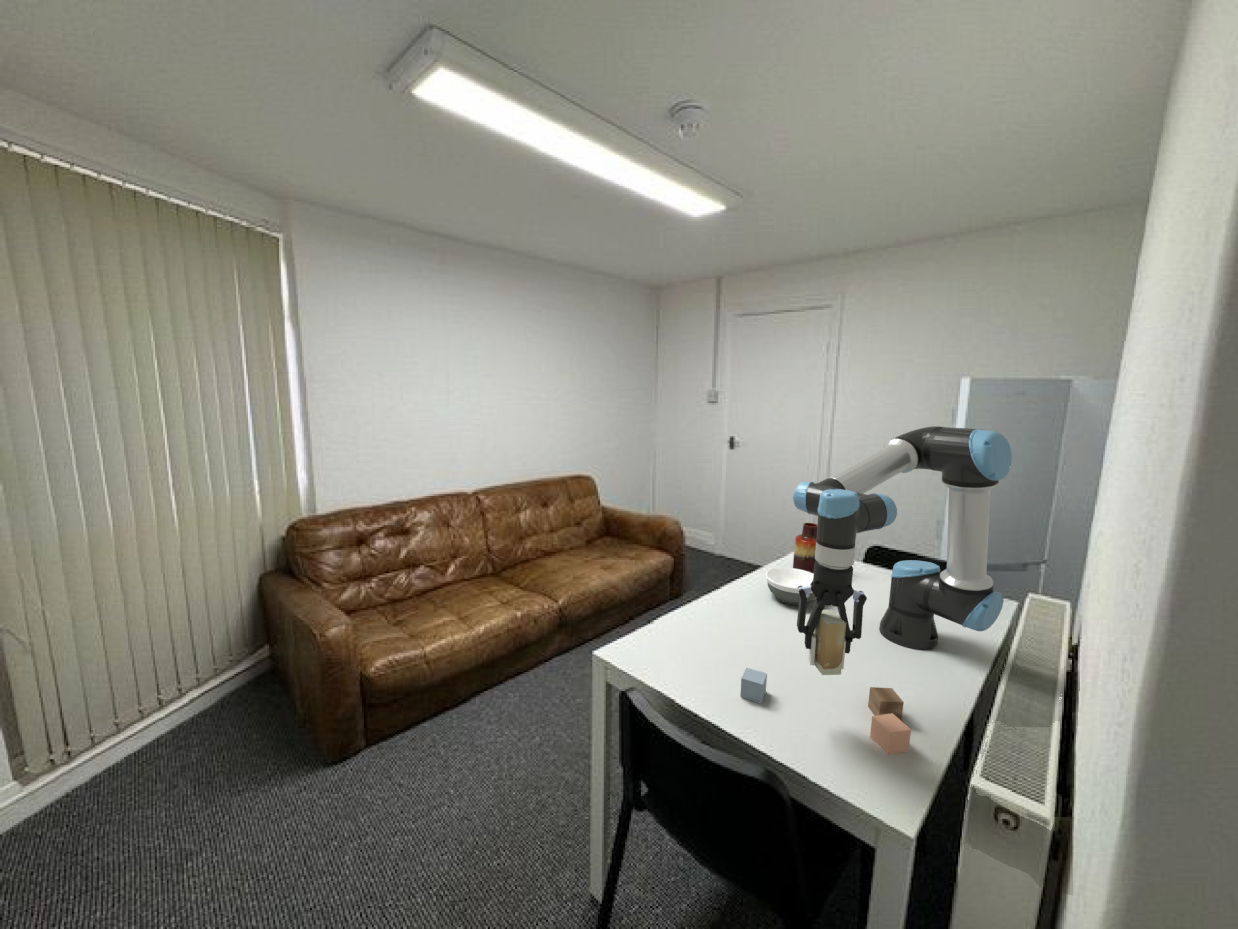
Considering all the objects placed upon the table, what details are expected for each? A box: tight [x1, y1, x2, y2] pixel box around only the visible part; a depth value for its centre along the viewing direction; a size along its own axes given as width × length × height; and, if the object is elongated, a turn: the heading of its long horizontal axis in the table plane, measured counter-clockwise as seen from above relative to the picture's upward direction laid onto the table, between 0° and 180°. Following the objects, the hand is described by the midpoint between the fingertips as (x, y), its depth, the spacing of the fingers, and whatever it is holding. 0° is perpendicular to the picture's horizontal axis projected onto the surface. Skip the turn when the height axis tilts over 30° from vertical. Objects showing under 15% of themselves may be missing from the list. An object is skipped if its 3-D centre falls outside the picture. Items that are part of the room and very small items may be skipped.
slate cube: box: [740, 667, 768, 705], centre depth 115 cm, size 5×5×5 cm
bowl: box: [765, 567, 816, 606], centre depth 167 cm, size 19×19×8 cm
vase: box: [792, 522, 818, 574], centre depth 190 cm, size 11×11×20 cm
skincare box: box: [813, 609, 846, 676], centre depth 103 cm, size 6×4×12 cm
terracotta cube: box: [869, 713, 912, 755], centre depth 99 cm, size 5×5×5 cm
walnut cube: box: [867, 686, 904, 721], centre depth 108 cm, size 5×5×5 cm
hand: (825, 663), depth 104 cm, fingers closed on skincare box, 5 cm apart
